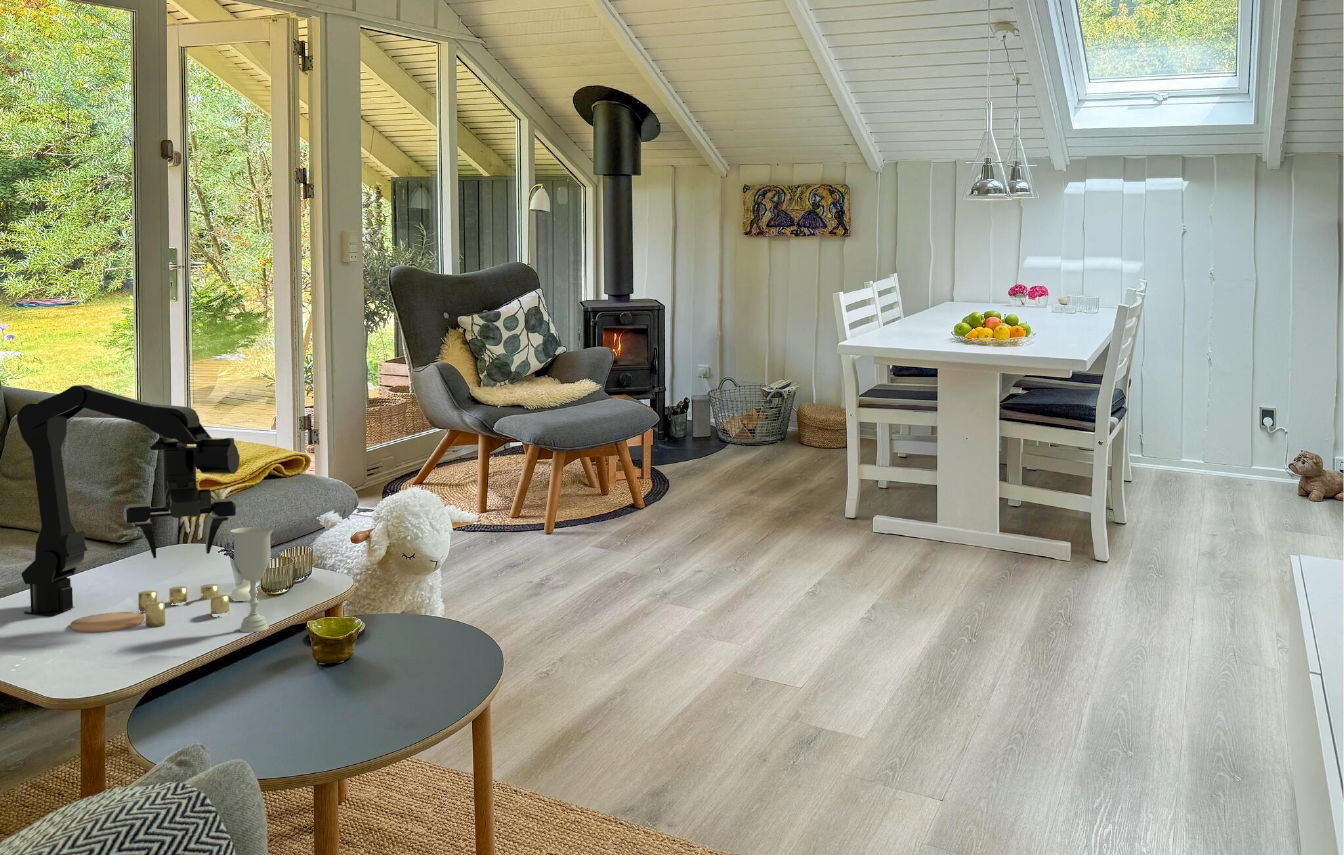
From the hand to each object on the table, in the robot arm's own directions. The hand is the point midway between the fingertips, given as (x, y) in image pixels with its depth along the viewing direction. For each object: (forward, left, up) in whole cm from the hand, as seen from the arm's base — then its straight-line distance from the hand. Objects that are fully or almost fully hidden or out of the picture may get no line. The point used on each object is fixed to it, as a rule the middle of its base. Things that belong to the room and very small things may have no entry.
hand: (181, 555), depth 199 cm
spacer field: (0, 0, -12) cm, 12 cm away
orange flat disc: (-9, -9, -12) cm, 17 cm away
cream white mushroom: (+7, +10, -12) cm, 17 cm away
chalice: (+19, -6, -12) cm, 23 cm away
